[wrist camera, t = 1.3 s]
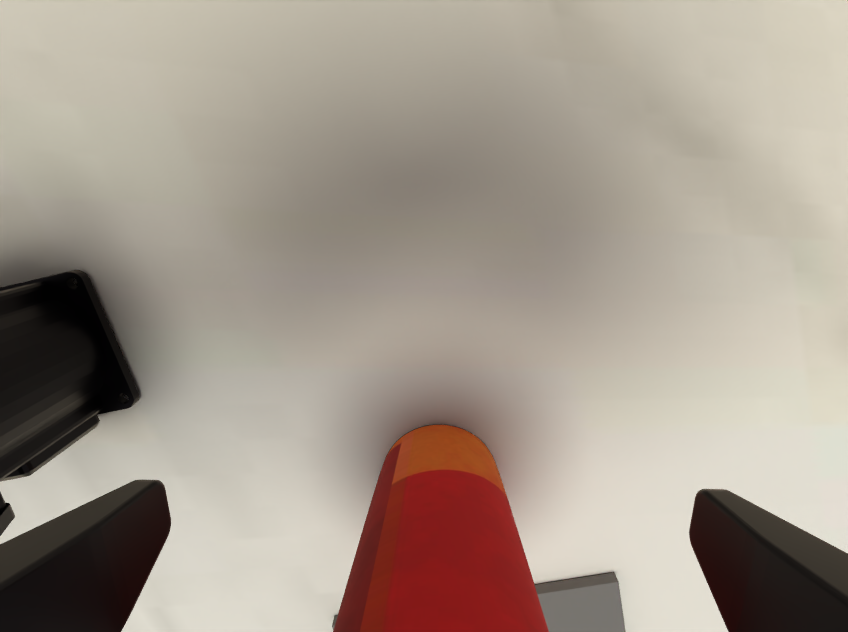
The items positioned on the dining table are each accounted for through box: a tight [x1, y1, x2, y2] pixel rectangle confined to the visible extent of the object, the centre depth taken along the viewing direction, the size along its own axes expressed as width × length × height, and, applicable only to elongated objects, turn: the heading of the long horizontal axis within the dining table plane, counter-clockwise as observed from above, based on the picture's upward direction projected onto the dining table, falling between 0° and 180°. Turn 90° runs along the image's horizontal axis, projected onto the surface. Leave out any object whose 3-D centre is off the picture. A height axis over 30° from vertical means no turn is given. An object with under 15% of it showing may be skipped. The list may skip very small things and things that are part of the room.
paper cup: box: [333, 425, 549, 632], centre depth 16 cm, size 8×8×14 cm
